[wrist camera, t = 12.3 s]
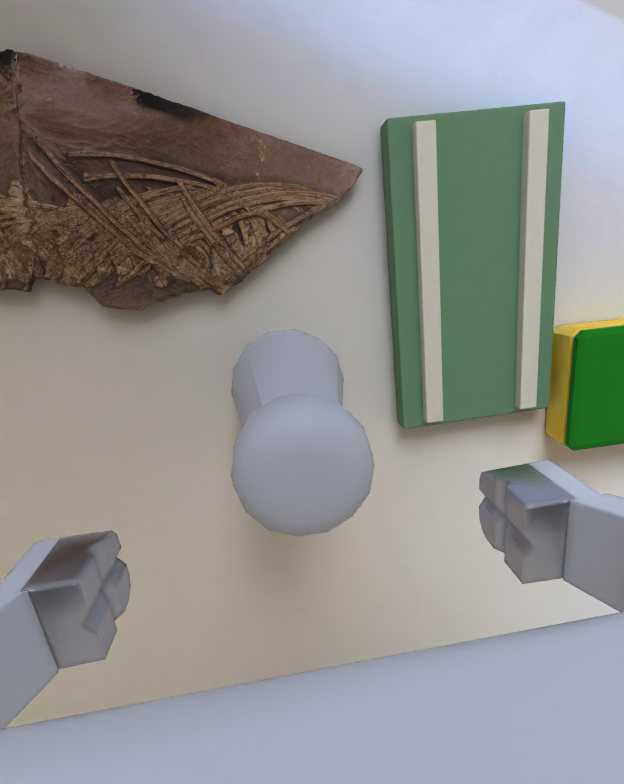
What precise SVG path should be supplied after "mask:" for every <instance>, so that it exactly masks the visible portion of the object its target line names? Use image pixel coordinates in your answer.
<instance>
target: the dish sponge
mask: <svg viewBox="0 0 624 784" xmlns="http://www.w3.org/2000/svg"><path fill="white" fill-rule="evenodd" d="M546 433H547V434H548V435H549V436H550V437H552V438H553V439H555V440H557V441H558V442H560V443H562V444H564V445H565V446H568V447H569V448H570V449H572V450H580V449H587V448H594V447H602V446H609V445H616V444H623V443H624V318H623V319H615V320H606V321H598V322H589V323H581V324H572V325H563V326H558V327H557V328H556V329H555V330H554V331H553V342H552V361H551V380H550V399H549V407H548V408H547V418H546Z"/></svg>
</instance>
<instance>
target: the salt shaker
mask: <svg viewBox="0 0 624 784" xmlns="http://www.w3.org/2000/svg"><path fill="white" fill-rule="evenodd" d="M343 380H344V378H343V375H342V371H341V368H340V365H339V362H338V359H337V356H336V354H335V353H334V352H333V351H332V350H331V349H330V348H329V347H327V346H326V345H325V344H324V343H323V342H322V341H321V340H320V339H319V338H318V337H315V336H312V335H310V334H307V333H304V332H301V331H298V330H295V329H291V330H283V331H275V332H268V333H267V334H265V335H263V336H262V337H260V338H259V339H257V340H256V341H254V342H253V343H251V344H249V345H248V346H246V348H245V349H244V351H243V353H242V355H241V356H240V358H239V360H238V361H237V363H236V365H235V366H234V368H233V380H232V396H233V399H234V402H235V405H236V407H237V410H238V413H239V416H240V419H241V422H242V425H243V428H242V429H241V431H240V433H239V434H238V436H237V438H236V440H235V444H234V449H233V462H232V474H231V477H232V481H233V486H234V488H235V490H236V492H237V494H238V496H239V499H240V501H241V503H242V505H243V507H244V509H245V511H246V512H247V513H248V514H249V515H250V516H252V517H253V518H254V519H255V520H257V521H258V522H259V523H260V524H262V525H263V526H264V527H265V528H267V529H268V530H271V531H276V532H280V533H284V534H289V535H293V536H304V535H311V534H317V533H324V532H328V531H330V530H331V529H333V528H335V527H336V526H338V525H339V524H341V523H343V522H344V521H346V520H347V519H349V518H351V517H352V516H353V515H354V514H355V512H356V511H357V510H358V508H359V507H360V505H361V504H362V503H363V501H364V500H365V499H366V497H367V496H368V494H369V493H370V488H371V482H372V475H373V469H374V461H373V455H372V452H371V449H370V446H369V442H368V439H367V436H366V433H365V430H364V427H363V426H362V425H361V424H360V422H359V421H358V420H357V419H356V418H355V417H354V416H353V415H352V414H350V413H349V412H348V411H347V410H346V409H345V408H344V407H343V406H342V400H343Z"/></svg>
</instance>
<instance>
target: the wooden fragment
mask: <svg viewBox="0 0 624 784" xmlns="http://www.w3.org/2000/svg"><path fill="white" fill-rule="evenodd" d="M16 54H17V64H16V69H17V70H15V61H16V59H15V58H14V57H15V56H16ZM361 173H362V168H360V167H358V166H356V165H353V164H351V163H348V162H345V161H342V160H339V159H336V158H333V157H329V156H327V155H324V154H321V153H319V152H316V151H313V150H310V149H308V148H305V147H302V146H299V145H296V144H293V143H290V142H288V141H284V140H281V139H278V138H275V137H273V136H270V135H266V134H263V133H260V132H257V131H255V130H252V129H249V128H246V127H243V126H240V125H237V124H234V123H231V122H229V121H226V120H223V119H219V118H217V117H214V116H212V115H209V114H207V113H204V112H201V111H199V110H196V109H194V108H191V107H188V106H184V105H181V104H179V103H174V102H171V101H168V100H166V99H163V98H161V97H159V96H154V95H153V94H151V93H147V92H143V91H141V90H138V89H135V88H133V87H129V86H126V85H123V84H120V83H117V82H113V81H110V80H108V79H104V78H101V77H98V76H94V75H92V74H90V73H87V72H83V71H75V70H73V69H71V70H69V69H67V68H66V67H65V66H64V67H59V63H56V62H52V61H49V60H46V59H43V58H40V57H37V56H34V55H31V54H27V53H20V52H14V51H13V50H8V49H6V50H5V51H2V52H0V290H5V289H17V290H21V291H26V292H31V289H32V286H33V282H34V279H35V277H42V278H45V279H47V280H52V281H54V282H56V283H58V284H60V285H65V286H75V287H79V286H84V287H85V288H86V289H87V290H88V291H89V292H90V293H91V294H92V296H93V297H94V298H95V299H96V300H97V301H98V302H99V303H100V304H101V305H103V306H106V307H111V308H117V309H134V310H143V309H144V308H145V307H146V306H148V305H150V304H151V303H152V302H158V301H164V300H166V299H168V298H169V297H173V296H178V295H180V294H181V293H184V292H195V291H199V290H206V289H209V290H211V291H213V292H214V293H216V294H219V295H220V294H224V293H225V292H226V291H227V290H228V289H229V288H230V287H231V286H233V285H236V284H238V283H240V282H242V281H243V279H244V278H245V277H246V275H247V274H248V273H250V271H251V270H252V269H254V268H255V267H257V266H259V265H261V264H262V263H263V262H264V261H265V260H267V259H268V258H269V257H270V256H271V253H270V252H271V250H273V249H274V248H275V247H277V246H279V245H280V244H281V243H283V242H284V241H285V240H287V239H288V238H289V237H290V236H291V235H292V234H294V232H295V231H296V230H297V229H299V228H300V227H301V225H302V224H303V223H305V222H306V221H307V220H309V219H310V218H311V217H312V216H313V214H314V213H315V212H317V211H322V210H326V209H328V208H329V207H331V206H332V205H335V204H337V203H338V202H339V201H340V200H341V198H342V197H343V196H344V195H345V194H346V193H347V192H348V191H349V190H350V189H351V187H352V186H353V185H354V184H355V182H356V180H357V178H358V177H359V175H360V174H361Z"/></svg>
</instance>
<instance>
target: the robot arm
mask: <svg viewBox="0 0 624 784" xmlns="http://www.w3.org/2000/svg"><path fill="white" fill-rule="evenodd" d="M479 489H480V490H481V492H482V493H483V494H484V495H485V496H486V497H485V498H484V500H483V501H482V503H481V504H480V506H479V519H480V523H481V527H482V530H483V533H484V535H485V537H486V539H487V540H488V542H489V543H490V544H491V546H492V547H493V548H495V549H497V550H499V551H501V552H504V553H505V558H504V562H505V563H506V564H507V565H508V567H509V568H510V569H511V570H512V572H513V573H514V574H515V575H516V576H517V578H518V579H519V580H520V581H521V583H522V584H526V583H532V582H539V581H546V580H552V579H559V578H563V580H564V581H566V582H568V583H570V584H571V585H573V586H575V587H577V588H578V589H580V590H582V591H584V592H586V593H587V594H589V595H591V596H593V597H594V598H596V599H598V600H600V601H602V602H603V603H605V604H607V605H609V606H610V607H612V608H614V609H616V610H618V611H619V612H620V613H615V614H610V615H604V616H599V617H594V618H588V619H583V620H578V621H572V622H567V623H562V624H556V625H551V626H546V627H540V628H535V629H530V630H524V631H519V632H514V633H509V634H503V635H498V636H493V637H487V638H482V639H477V640H471V641H466V642H461V643H455V644H450V645H445V646H439V647H434V648H429V649H423V650H418V651H413V652H408V653H402V654H397V655H392V656H386V657H381V658H376V659H371V660H366V661H360V662H355V663H350V664H345V665H339V666H334V667H329V668H324V669H318V670H313V671H308V672H303V673H297V674H292V675H287V676H281V677H276V678H271V679H265V680H260V681H255V682H249V683H244V684H239V685H234V686H228V687H223V688H218V689H212V690H207V691H202V692H196V693H191V694H186V695H180V696H175V697H170V698H164V699H159V700H154V701H149V702H143V703H138V704H133V705H127V706H122V707H117V708H111V709H106V710H101V711H95V712H90V713H85V714H80V715H74V716H69V717H64V718H58V719H53V720H48V721H42V722H37V723H32V724H26V725H21V726H16V727H11V728H6V727H7V725H8V724H9V723H10V722H11V721H12V720H13V719H14V718H15V717H16V716H17V715H18V714H19V713H20V712H21V711H22V710H23V709H24V708H25V707H26V705H27V704H28V703H29V702H30V701H31V700H32V699H33V698H34V697H35V696H36V695H37V694H38V693H39V692H40V691H41V690H42V689H43V688H44V687H45V685H46V684H47V683H48V682H49V681H50V680H51V679H52V678H53V677H54V676H55V675H56V674H57V673H58V672H59V670H58V669H61V668H66V667H71V666H75V665H80V664H85V663H90V662H94V661H99V660H104V659H106V656H107V654H108V651H109V649H110V646H111V644H112V641H113V639H114V636H115V634H116V632H117V627H116V624H115V620H116V619H117V618H118V617H119V616H120V615H121V614H122V613H123V612H125V609H126V606H127V604H128V601H129V595H130V586H131V585H130V575H129V571H128V568H127V564H125V563H124V562H123V561H121V560H120V559H119V558H117V555H118V553H119V551H120V549H121V545H120V542H119V539H118V536H117V534H116V533H115V532H113V531H112V530H111V531H104V532H97V533H90V534H82V535H75V536H68V537H64V538H63V537H59V538H54V539H48V540H42V541H39V542H36V543H34V544H33V545H32V546H31V548H30V549H29V550H28V551H27V552H26V553H25V555H24V556H23V557H22V558H21V559H20V561H19V562H18V563H17V564H16V565H15V567H14V568H13V569H12V570H11V571H10V573H9V574H8V575H7V576H6V577H5V579H4V580H3V581H2V582H1V583H0V784H624V498H622V497H618V496H615V495H611V494H603V495H601V494H599V493H598V492H596V491H595V490H593V489H592V488H590V487H589V486H587V485H586V484H584V483H583V482H581V481H580V480H578V479H577V478H576V477H574V476H573V475H571V474H570V473H568V472H567V471H565V470H564V469H562V468H561V467H559V466H558V465H556V464H555V463H553V462H552V461H548V460H543V461H538V462H533V463H528V464H523V465H517V466H512V467H507V468H501V469H496V470H491V471H486V472H482V473H481V476H480V480H479Z"/></svg>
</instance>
